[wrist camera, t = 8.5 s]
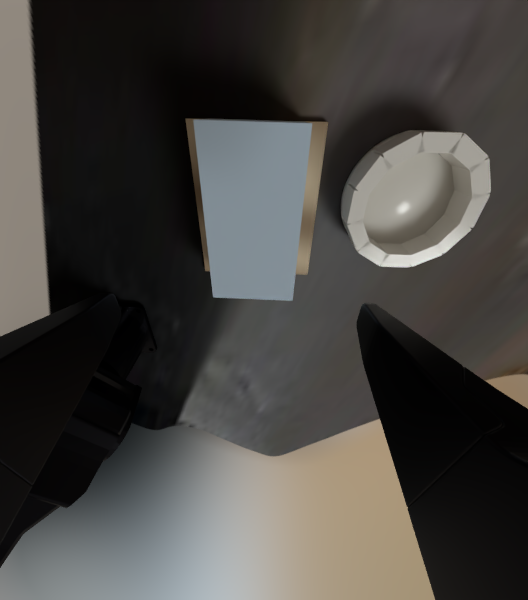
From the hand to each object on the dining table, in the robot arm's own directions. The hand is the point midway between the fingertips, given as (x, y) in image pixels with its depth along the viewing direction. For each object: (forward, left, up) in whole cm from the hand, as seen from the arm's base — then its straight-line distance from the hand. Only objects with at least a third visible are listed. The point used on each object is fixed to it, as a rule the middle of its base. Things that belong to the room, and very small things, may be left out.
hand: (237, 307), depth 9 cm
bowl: (+1, -10, -13) cm, 16 cm away
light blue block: (0, 0, -12) cm, 12 cm away
